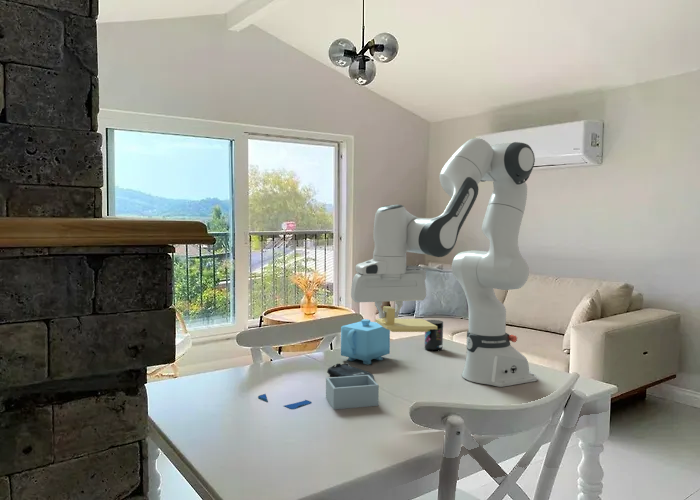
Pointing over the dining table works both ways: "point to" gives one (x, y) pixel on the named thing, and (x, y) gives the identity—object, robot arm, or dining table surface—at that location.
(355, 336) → the teapot
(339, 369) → the electronic device
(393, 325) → the lid
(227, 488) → the dining table surface
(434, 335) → the supplement container
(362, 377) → the tub
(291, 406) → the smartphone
